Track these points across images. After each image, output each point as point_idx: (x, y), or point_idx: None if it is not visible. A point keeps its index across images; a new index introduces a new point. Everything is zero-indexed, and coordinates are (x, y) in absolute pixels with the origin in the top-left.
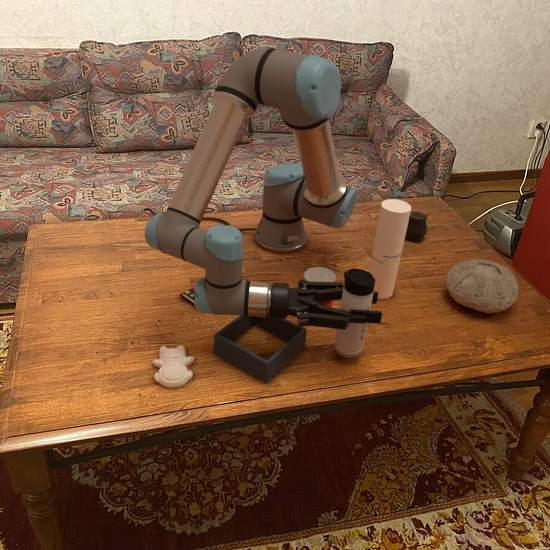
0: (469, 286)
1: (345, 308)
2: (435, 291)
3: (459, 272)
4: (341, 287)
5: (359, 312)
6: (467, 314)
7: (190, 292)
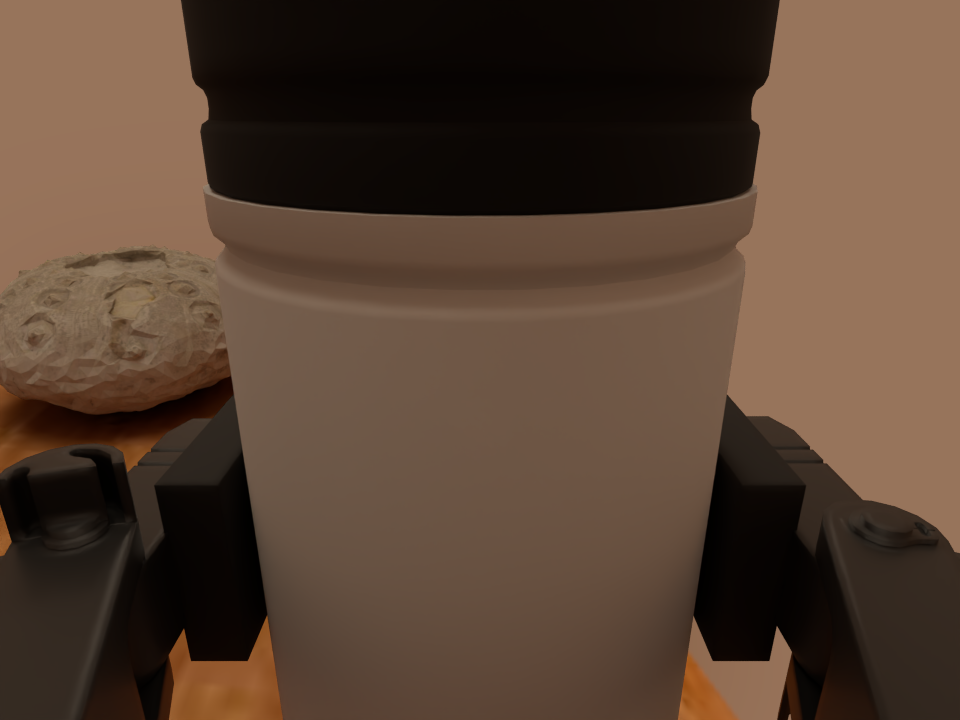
0: (164, 311)
1: (663, 582)
2: (12, 459)
3: (67, 307)
4: (6, 567)
5: (742, 426)
6: (208, 414)
7: None
